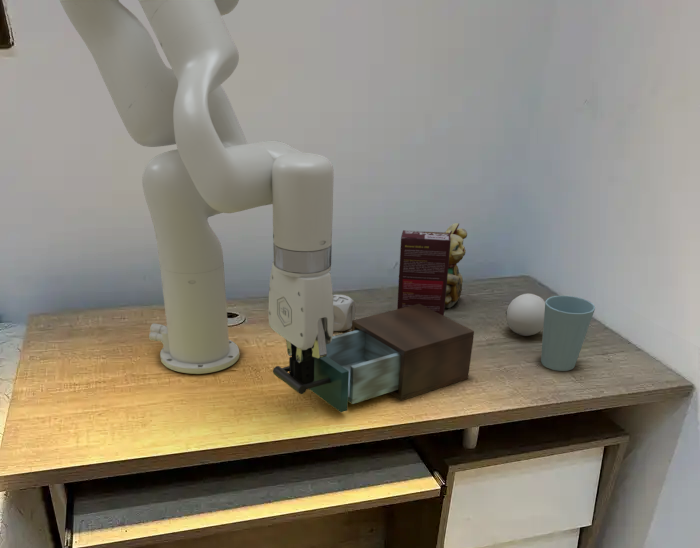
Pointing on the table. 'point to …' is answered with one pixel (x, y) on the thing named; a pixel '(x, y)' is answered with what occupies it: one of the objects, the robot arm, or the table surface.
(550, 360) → the cup
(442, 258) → the supplement box
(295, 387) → the teal pull-out drawer
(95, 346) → the table surface
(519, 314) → the white ball
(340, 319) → the die
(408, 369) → the cabinet
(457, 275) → the decorative figurine
